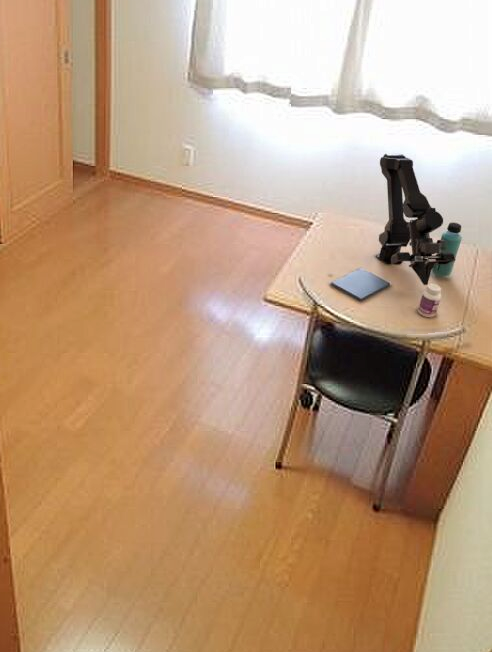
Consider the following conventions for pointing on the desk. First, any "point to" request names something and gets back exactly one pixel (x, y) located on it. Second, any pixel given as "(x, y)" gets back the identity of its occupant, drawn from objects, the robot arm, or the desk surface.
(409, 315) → the desk surface
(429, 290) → the pill bottle
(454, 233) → the beverage bottle
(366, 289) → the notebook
